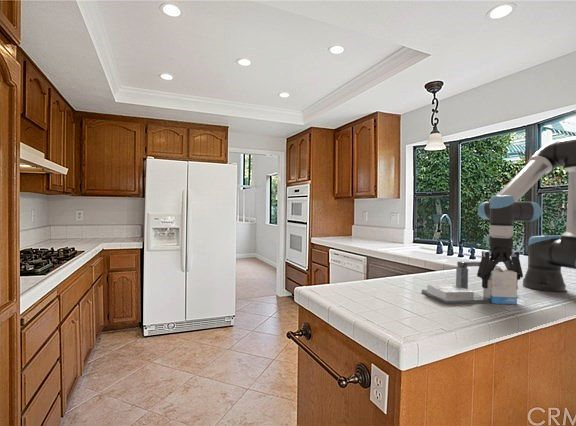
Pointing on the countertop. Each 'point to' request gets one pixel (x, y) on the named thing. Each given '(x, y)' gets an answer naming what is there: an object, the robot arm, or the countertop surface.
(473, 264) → the lever
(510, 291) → the ink box
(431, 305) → the countertop surface
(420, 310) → the countertop surface
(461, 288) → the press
